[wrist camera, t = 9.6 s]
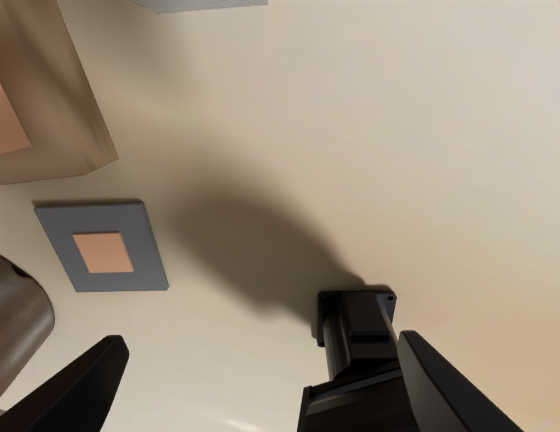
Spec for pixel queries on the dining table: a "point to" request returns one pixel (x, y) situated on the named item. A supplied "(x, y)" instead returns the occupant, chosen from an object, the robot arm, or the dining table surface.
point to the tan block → (48, 97)
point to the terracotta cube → (10, 127)
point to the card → (105, 246)
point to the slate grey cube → (195, 4)
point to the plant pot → (20, 322)
